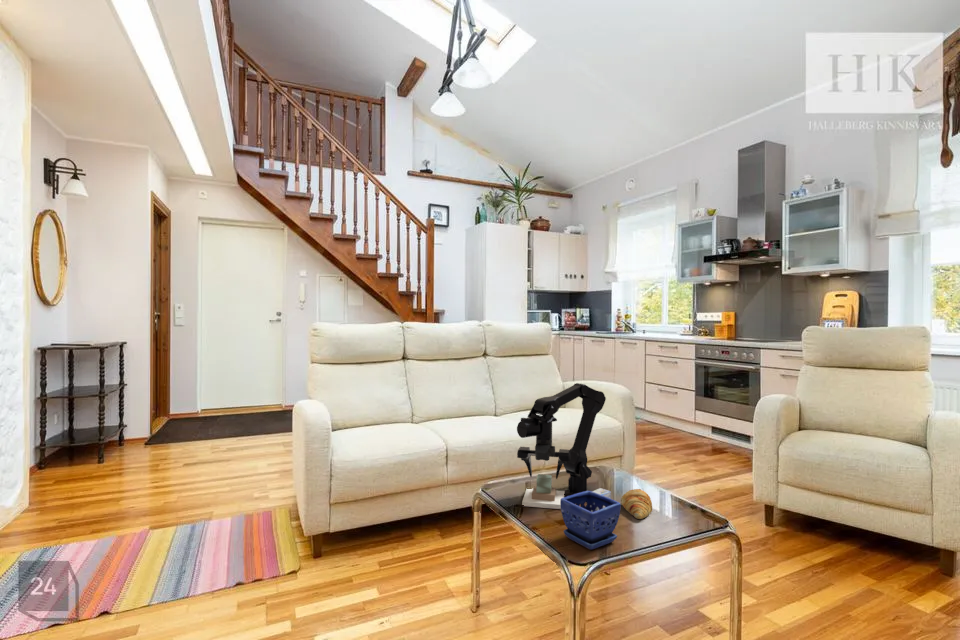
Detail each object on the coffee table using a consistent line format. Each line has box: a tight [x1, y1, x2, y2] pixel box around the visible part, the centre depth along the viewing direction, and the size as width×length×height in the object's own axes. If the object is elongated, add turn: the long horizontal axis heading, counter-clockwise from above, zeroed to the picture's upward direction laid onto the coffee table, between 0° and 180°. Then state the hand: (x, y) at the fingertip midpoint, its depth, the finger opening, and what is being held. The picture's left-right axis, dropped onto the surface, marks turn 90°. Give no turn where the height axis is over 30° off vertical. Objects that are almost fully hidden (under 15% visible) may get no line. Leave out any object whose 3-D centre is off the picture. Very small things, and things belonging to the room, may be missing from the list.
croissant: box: [620, 488, 653, 520], centre depth 169 cm, size 21×10×8 cm, turn 168°
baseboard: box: [521, 485, 566, 510], centre depth 177 cm, size 14×14×4 cm
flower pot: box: [560, 490, 622, 550], centre depth 145 cm, size 13×13×12 cm
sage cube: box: [536, 473, 553, 494], centre depth 177 cm, size 5×5×5 cm
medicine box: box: [591, 487, 612, 512], centre depth 161 cm, size 8×4×9 cm, turn 134°
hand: (543, 477), depth 177 cm, fingers open, 9 cm apart
